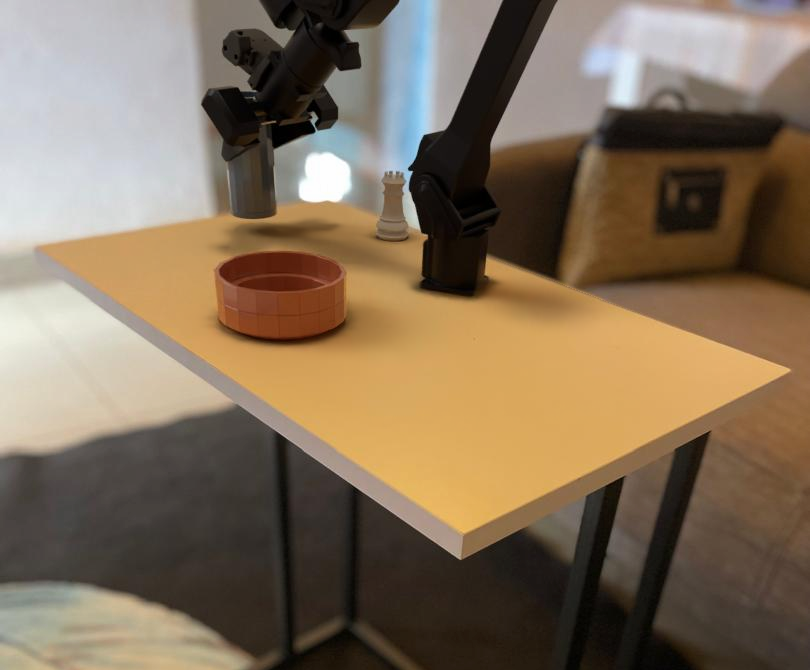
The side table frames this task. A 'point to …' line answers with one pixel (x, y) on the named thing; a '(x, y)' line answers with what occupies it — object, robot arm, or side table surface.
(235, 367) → the side table surface
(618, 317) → the side table surface
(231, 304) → the bowl
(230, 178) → the vase
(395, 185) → the rook chess piece
